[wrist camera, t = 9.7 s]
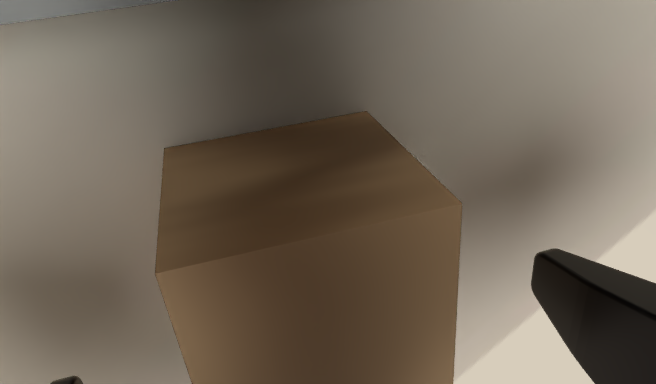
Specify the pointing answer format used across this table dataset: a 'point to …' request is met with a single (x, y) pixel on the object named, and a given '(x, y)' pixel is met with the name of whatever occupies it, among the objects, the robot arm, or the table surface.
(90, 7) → the tote
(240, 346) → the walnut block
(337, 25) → the table surface
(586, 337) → the robot arm
